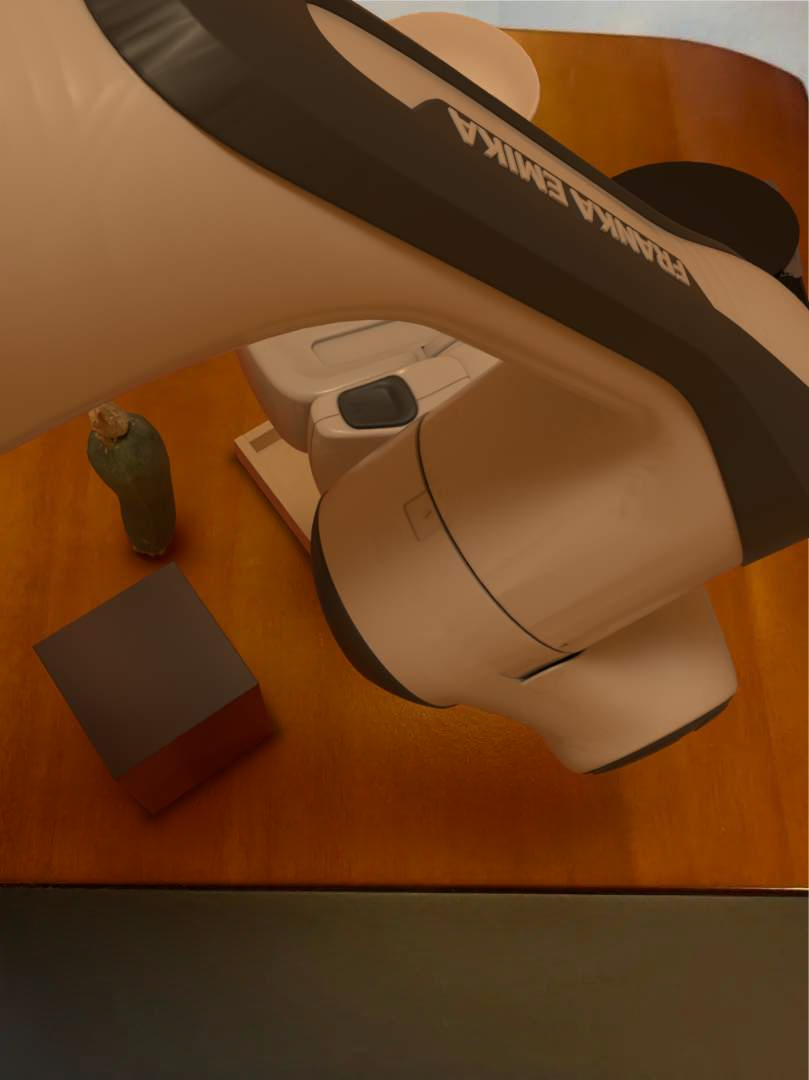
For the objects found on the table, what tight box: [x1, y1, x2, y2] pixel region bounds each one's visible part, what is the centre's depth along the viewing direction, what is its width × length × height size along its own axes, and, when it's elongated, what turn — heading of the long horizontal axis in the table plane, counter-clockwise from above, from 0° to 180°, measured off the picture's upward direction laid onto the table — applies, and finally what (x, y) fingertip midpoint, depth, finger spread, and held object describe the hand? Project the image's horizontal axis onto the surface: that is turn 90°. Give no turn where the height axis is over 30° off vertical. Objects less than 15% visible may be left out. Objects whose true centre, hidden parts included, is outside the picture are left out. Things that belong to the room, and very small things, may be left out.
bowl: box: [385, 11, 541, 123], centre depth 83 cm, size 16×16×8 cm
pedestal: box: [32, 560, 273, 815], centre depth 60 cm, size 9×9×12 cm
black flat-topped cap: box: [609, 160, 809, 310], centre depth 80 cm, size 14×18×8 cm
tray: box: [233, 419, 321, 555], centre depth 73 cm, size 17×13×3 cm
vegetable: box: [86, 401, 177, 557], centre depth 61 cm, size 4×4×20 cm
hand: (390, 188), depth 50 cm, fingers closed on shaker, 4 cm apart
